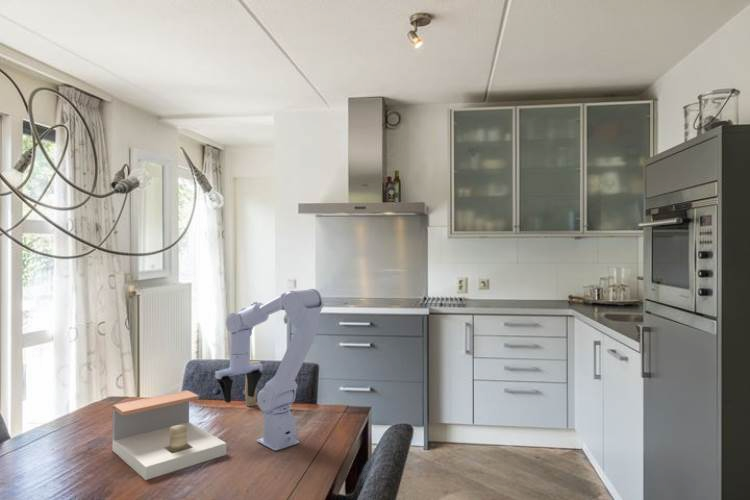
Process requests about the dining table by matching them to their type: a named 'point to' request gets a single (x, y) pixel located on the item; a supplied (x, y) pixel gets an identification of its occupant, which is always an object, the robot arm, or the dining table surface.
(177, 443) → the peg
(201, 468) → the dining table surface
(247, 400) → the handle
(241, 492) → the dining table surface
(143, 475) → the station
